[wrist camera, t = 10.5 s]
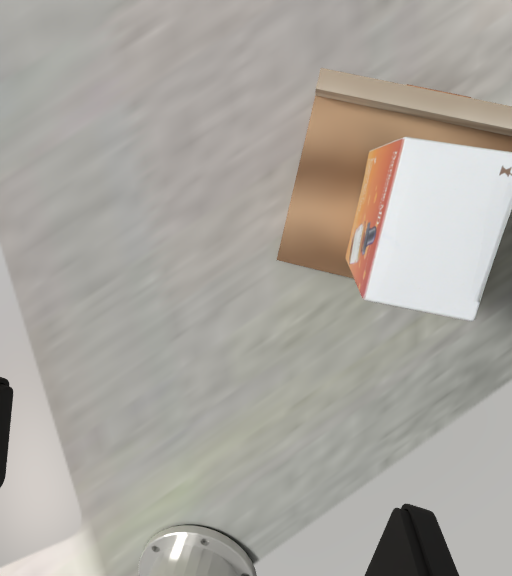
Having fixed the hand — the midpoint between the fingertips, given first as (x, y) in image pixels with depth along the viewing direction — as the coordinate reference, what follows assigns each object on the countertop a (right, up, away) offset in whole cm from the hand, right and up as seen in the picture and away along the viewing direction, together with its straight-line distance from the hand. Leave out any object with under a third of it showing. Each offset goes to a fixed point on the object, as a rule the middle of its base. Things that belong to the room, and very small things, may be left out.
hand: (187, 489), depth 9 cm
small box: (+12, +10, +19) cm, 24 cm away
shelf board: (+12, +11, +19) cm, 25 cm away
